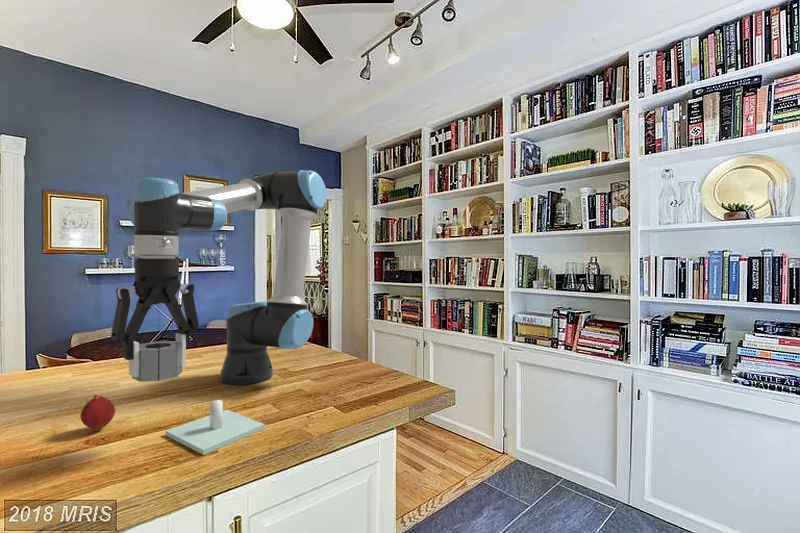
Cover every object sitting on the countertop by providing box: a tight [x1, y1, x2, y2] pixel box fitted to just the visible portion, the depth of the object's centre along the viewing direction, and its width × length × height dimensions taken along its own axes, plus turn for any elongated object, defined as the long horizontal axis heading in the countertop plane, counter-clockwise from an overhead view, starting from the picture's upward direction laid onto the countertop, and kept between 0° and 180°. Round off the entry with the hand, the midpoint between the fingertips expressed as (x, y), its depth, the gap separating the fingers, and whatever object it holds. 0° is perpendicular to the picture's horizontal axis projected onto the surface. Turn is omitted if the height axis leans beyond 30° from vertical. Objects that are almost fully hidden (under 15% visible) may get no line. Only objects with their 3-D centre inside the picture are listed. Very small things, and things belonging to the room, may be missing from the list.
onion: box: [79, 393, 116, 432], centre depth 85 cm, size 6×6×8 cm
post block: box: [165, 399, 266, 456], centre depth 85 cm, size 14×14×6 cm
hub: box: [131, 340, 183, 383], centre depth 80 cm, size 8×8×6 cm
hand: (158, 369), depth 80 cm, fingers closed on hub, 8 cm apart
